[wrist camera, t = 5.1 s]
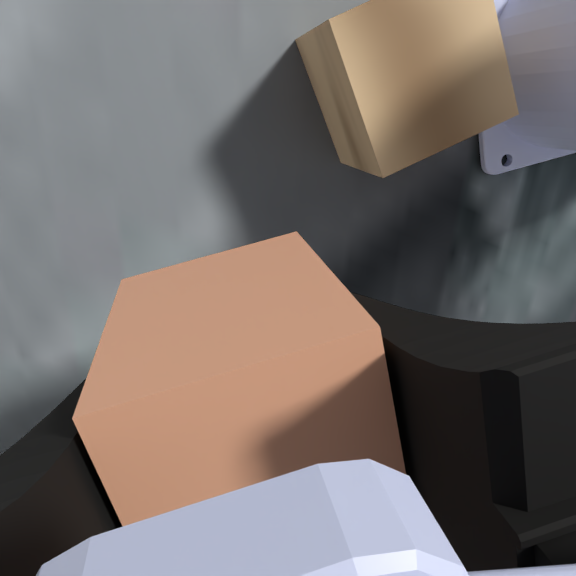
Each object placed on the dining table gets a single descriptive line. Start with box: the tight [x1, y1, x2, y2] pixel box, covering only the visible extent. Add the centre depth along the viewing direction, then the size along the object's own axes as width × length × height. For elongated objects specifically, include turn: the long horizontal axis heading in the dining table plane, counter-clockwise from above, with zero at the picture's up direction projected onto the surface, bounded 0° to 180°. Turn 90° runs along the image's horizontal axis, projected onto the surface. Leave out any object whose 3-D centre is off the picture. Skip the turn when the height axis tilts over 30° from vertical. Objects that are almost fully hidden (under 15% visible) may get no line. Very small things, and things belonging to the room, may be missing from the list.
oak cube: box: [295, 0, 519, 178], centre depth 18 cm, size 5×5×5 cm
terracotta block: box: [72, 231, 406, 526], centre depth 11 cm, size 4×4×6 cm
